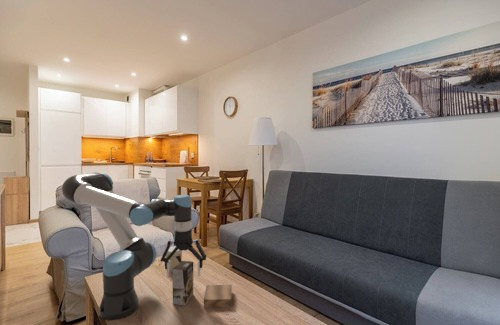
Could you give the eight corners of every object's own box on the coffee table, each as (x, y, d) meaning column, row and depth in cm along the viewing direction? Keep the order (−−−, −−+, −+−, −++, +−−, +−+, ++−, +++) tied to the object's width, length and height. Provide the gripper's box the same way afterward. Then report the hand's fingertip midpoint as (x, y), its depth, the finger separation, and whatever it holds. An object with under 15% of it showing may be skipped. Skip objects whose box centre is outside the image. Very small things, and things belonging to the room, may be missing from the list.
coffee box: (185, 305, 115) (185, 270, 114) (172, 304, 116) (171, 268, 115) (194, 294, 124) (194, 261, 123) (181, 292, 125) (181, 260, 124)
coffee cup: (179, 273, 144) (179, 252, 144) (162, 273, 144) (162, 251, 144) (184, 265, 154) (184, 245, 153) (168, 265, 154) (168, 245, 153)
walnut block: (203, 308, 114) (203, 299, 113) (206, 293, 126) (206, 285, 125) (231, 307, 114) (231, 299, 114) (231, 292, 126) (231, 284, 126)
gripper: (152, 232, 113) (153, 280, 115) (210, 231, 115) (210, 278, 116) (157, 227, 121) (158, 272, 122) (211, 226, 123) (212, 270, 124)
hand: (184, 275), depth 119 cm, fingers open, 13 cm apart
